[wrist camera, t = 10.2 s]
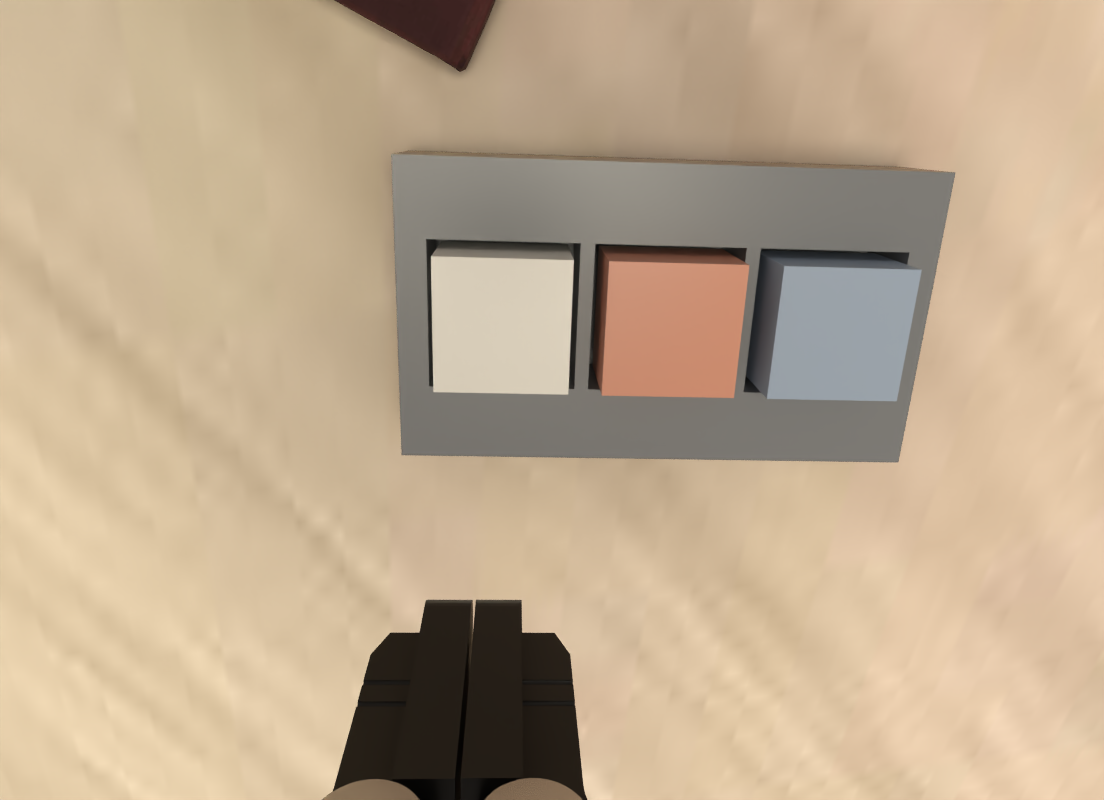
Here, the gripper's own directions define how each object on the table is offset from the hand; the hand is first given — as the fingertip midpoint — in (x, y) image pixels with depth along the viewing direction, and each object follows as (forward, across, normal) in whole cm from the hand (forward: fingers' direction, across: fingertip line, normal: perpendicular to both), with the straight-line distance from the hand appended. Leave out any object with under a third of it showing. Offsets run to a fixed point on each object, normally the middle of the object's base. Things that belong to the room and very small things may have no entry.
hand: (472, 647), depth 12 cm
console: (+27, -7, 0) cm, 28 cm away
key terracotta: (+24, -7, 0) cm, 25 cm away
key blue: (+24, -14, 0) cm, 28 cm away
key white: (+25, 0, 0) cm, 25 cm away
